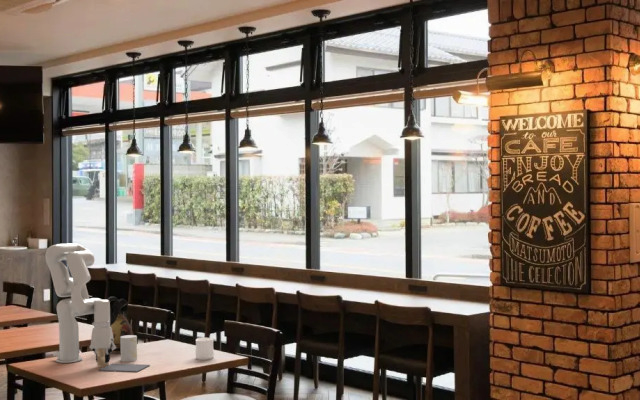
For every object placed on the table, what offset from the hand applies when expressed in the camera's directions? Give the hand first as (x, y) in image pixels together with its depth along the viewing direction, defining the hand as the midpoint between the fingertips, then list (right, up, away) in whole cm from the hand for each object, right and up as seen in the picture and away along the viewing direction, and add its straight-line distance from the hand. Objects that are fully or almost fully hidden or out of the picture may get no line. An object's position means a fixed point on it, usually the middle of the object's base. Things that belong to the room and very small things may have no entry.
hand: (102, 361), depth 387 cm
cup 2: (+48, -2, +16) cm, 50 cm away
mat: (+12, -2, -6) cm, 14 cm away
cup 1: (+9, -2, +14) cm, 17 cm away
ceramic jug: (-2, -2, +36) cm, 36 cm away
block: (0, -2, 0) cm, 2 cm away
